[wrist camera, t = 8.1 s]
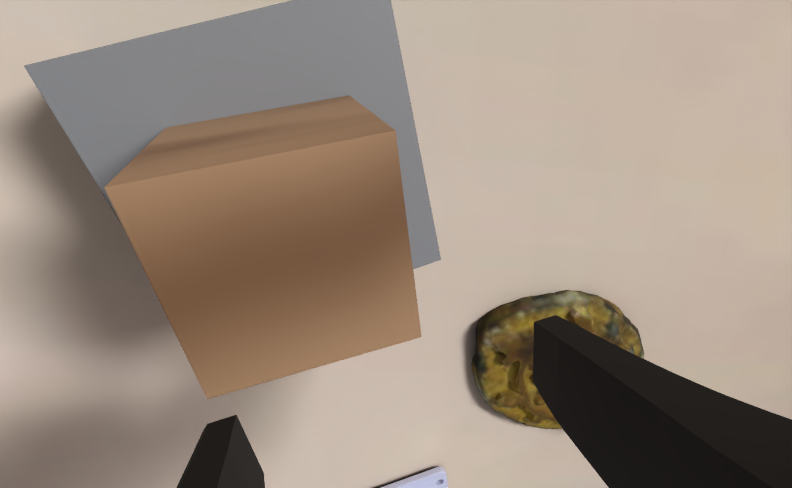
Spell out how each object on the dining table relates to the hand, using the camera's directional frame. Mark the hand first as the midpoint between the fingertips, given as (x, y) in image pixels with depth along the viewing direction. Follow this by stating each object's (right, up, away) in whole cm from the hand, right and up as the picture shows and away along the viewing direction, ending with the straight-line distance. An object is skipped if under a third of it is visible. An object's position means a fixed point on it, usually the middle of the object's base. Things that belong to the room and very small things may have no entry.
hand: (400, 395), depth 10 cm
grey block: (-5, +7, +6) cm, 10 cm away
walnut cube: (-4, +5, +3) cm, 7 cm away
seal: (+10, -3, +16) cm, 19 cm away
